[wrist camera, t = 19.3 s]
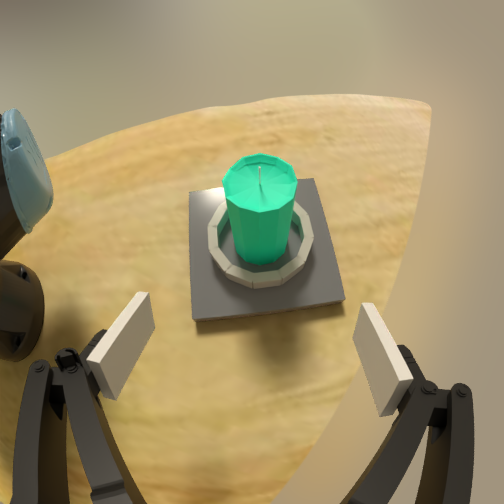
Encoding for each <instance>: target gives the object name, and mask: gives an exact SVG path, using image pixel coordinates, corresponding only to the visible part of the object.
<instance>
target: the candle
mask: <svg viewBox="0 0 504 504" xmlns="http://www.w3.org/2000/svg"><path fill="white" fill-rule="evenodd" d="M222 183H223V188H224V193H225V199H226V204H227V209H228V214H229V219H230V224H231V229H232V234H233V239H234V244H235V248H236V252H237V253H238V254H239V255H240V256H241V257H242V258H243V259H244V260H245V261H246V262H249V263H253V264H257V265H264V264H268V263H273V262H275V261H276V260H277V259H278V258H279V257H280V256H281V255H283V254H284V252H285V248H286V245H287V241H288V236H289V230H290V225H291V219H292V213H293V207H294V201H295V195H296V189H297V183H298V181H297V178H296V176H295V173H294V170H293V167H292V165H290V164H288V163H287V162H285V161H284V160H282V159H280V158H279V157H275V156H271V155H267V154H262V153H258V154H254V155H249V156H245V157H242V158H241V159H240V160H239V161H238V162H236V163H235V164H234V165H233V166H232V167H231V168H230V169H229V170H228V172H227V173H226V175H225V176H224V178H223V180H222Z"/></svg>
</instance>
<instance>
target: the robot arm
mask: <svg viewBox="0 0 504 504" xmlns="http://www.w3.org/2000/svg"><path fill="white" fill-rule="evenodd" d="M52 203H53V187H52V183H51V179H50V176H49V173H48V170H47V167H46V165H45V162H44V160H43V157H42V155H41V152H40V150H39V148H38V145H37V143H36V141H35V138H34V136H33V134H32V132H31V130H30V128H29V126H28V124H27V122H26V120H25V119H24V117H23V116H22V115H21V113H20V112H19V111H18V110H17V109H11V110H9V111H8V110H7V111H5V112H4V113H3V115H1V114H0V358H1V359H4V360H8V361H14V362H15V361H20V360H22V359H24V358H25V357H26V356H28V354H29V353H30V352H31V351H32V349H33V348H34V346H35V344H36V342H37V340H38V337H39V334H40V331H41V327H42V321H43V313H44V298H43V291H42V287H41V283H40V281H39V279H38V277H37V275H36V274H35V273H34V271H32V270H31V269H30V268H28V267H26V266H25V265H23V264H21V263H19V262H14V261H7V260H2V259H3V258H4V257H5V255H6V254H7V253H8V252H9V251H10V250H11V249H12V248H13V247H14V246H15V245H16V244H17V243H18V242H19V241H20V240H21V239H22V238H23V237H24V236H25V235H26V234H27V233H28V234H29V233H31V231H32V229H33V227H34V226H35V225H36V224H37V223H38V222H39V221H40V220H41V219H42V218H43V217H44V216H45V215H46V214H47V213H48V211H49V210H50V208H51V206H52ZM154 329H155V324H154V319H153V313H152V308H151V302H150V296H149V293H148V292H137V294H136V295H135V296H134V297H133V299H132V300H131V301H130V302H129V304H128V305H127V306H126V307H125V309H124V310H123V311H122V313H121V314H120V315H119V316H118V318H117V319H116V320H115V322H114V323H113V324H112V325H111V327H110V328H109V329H108V330H104V329H103V330H101V331H100V332H98V333H97V334H96V335H95V336H94V337H93V338H92V341H90V342H89V344H88V345H87V346H86V347H85V349H84V350H83V351H82V353H81V354H80V355H78V353H77V351H76V350H75V349H73V348H64V349H62V350H60V351H59V352H57V354H56V355H55V361H56V363H57V365H58V367H50V365H49V363H48V361H46V360H37V361H35V362H34V363H33V364H32V365H31V366H30V369H29V372H28V376H27V380H26V384H25V389H24V393H23V398H22V402H21V407H20V413H19V419H18V425H17V432H16V440H15V449H14V461H13V495H12V498H11V502H10V504H70V501H69V492H68V480H67V462H66V424H67V410H68V415H69V419H70V423H71V427H72V431H73V435H74V438H75V442H76V445H77V449H78V452H79V455H80V458H81V461H82V464H83V467H84V470H85V473H86V476H87V478H88V481H89V483H90V486H91V489H92V492H91V493H90V496H91V499H92V502H93V504H147V503H146V502H145V500H144V498H143V497H142V495H141V493H140V491H139V489H138V488H137V486H136V484H135V482H134V480H133V478H132V476H131V474H130V472H129V470H128V468H127V466H126V464H125V462H124V460H123V458H122V456H121V453H120V451H119V449H118V447H117V444H116V442H115V440H114V437H113V435H112V432H111V430H110V427H109V425H108V422H107V419H106V417H105V414H104V411H103V408H102V405H101V402H100V399H99V397H98V393H99V391H100V390H101V392H102V394H103V396H104V397H105V398H109V399H112V400H117V398H118V396H119V394H120V392H121V390H122V388H123V386H124V384H125V382H126V381H127V379H128V377H129V375H130V373H131V371H132V369H133V367H134V366H135V364H136V362H137V360H138V358H139V356H140V354H141V353H142V351H143V349H144V347H145V345H146V344H147V342H148V340H149V338H150V336H151V335H152V333H153V331H154ZM353 341H354V344H355V346H356V349H357V352H358V355H359V357H360V360H361V363H362V366H363V369H364V371H365V374H366V377H367V380H368V383H369V386H370V389H371V392H372V395H373V398H374V401H375V404H376V407H377V410H378V414H379V417H383V416H389V415H393V414H394V412H395V410H396V409H398V411H399V415H398V416H397V418H396V419H395V421H394V422H393V424H392V427H391V429H390V431H389V433H388V434H387V436H386V438H385V440H384V441H383V443H382V445H381V446H380V448H379V449H378V451H377V453H376V454H375V456H374V457H373V459H372V460H371V462H370V463H369V465H368V466H367V468H366V469H365V471H364V472H363V474H362V475H361V477H360V478H359V479H358V481H357V482H356V483H355V485H354V486H353V488H352V489H351V490H350V492H349V493H348V494H347V495H346V497H345V498H344V499H343V500H342V502H341V503H340V504H387V503H388V502H389V500H390V499H391V497H392V496H393V494H394V492H395V490H396V489H397V487H398V485H399V484H400V482H401V480H402V478H403V476H404V474H405V473H406V471H407V469H408V467H409V465H410V463H411V461H412V459H413V457H414V455H415V452H416V450H417V448H418V446H419V444H420V442H421V439H422V437H423V434H424V432H425V430H426V427H427V426H429V431H428V440H427V447H426V454H425V460H424V465H423V471H422V476H421V480H420V485H419V489H418V493H417V497H416V501H415V504H469V503H470V496H471V488H472V478H473V465H474V413H473V399H472V392H471V390H470V388H469V387H468V386H467V385H465V384H462V383H457V384H455V385H454V386H453V387H452V388H451V390H443V389H438V387H437V386H436V385H435V384H434V383H433V382H431V381H428V380H426V379H425V377H424V375H423V373H422V372H421V370H420V368H419V366H418V364H417V363H416V361H415V359H414V358H413V355H412V353H411V352H410V350H409V349H408V348H407V347H405V346H404V345H396V343H395V342H394V340H393V338H392V336H391V334H390V332H389V331H388V329H387V327H386V325H385V323H384V322H383V320H382V318H381V316H380V315H379V313H378V311H377V309H376V308H375V306H374V304H373V303H361V307H360V311H359V315H358V319H357V323H356V327H355V331H354V334H353Z"/></svg>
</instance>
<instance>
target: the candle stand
mask: <svg viewBox="0 0 504 504" xmlns="http://www.w3.org/2000/svg"><path fill="white" fill-rule="evenodd" d="M297 181H298V183H297V189H296V195H295V201H294V207H293V213H292V219H291V225H290V230H289V236H288V241H287V245H286V248H285V252H284V254H283V255H281V256H280V257H279V258H278V259H277V260H276V261H275V262H273V263H268V264H264V265H257V264H253V263H249V262H246V261H245V260H244V259H243V258H242V257H241V256H240V255H239V254H238V253H237V252H236V248H235V244H234V239H233V234H232V229H231V224H230V219H229V214H228V209H227V204H226V199H225V193H224V188H223V187H222V188H214V189H207V190H200V191H193V192H189V252H190V282H191V303H192V319H193V320H194V321H195V322H199V321H210V320H220V319H230V318H239V317H248V316H256V315H264V314H272V313H279V312H286V311H293V310H300V309H306V308H313V307H319V306H325V305H331V304H337V303H342V302H343V301H344V300H345V295H344V290H343V286H342V281H341V277H340V273H339V269H338V264H337V260H336V256H335V252H334V248H333V244H332V241H331V237H330V233H329V229H328V226H327V222H326V218H325V215H324V211H323V208H322V204H321V201H320V198H319V194H318V191H317V188H316V185H315V181H314V178H310V179H297Z"/></svg>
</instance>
